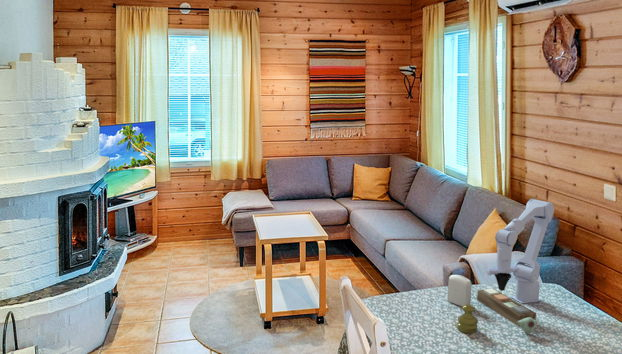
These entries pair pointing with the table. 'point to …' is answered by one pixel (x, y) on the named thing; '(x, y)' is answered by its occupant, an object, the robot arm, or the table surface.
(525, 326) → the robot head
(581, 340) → the table surface
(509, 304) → the sage key
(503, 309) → the keyboard
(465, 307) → the olive green vase
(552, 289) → the table surface
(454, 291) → the white rounded slab
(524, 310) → the slate key
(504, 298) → the terracotta key
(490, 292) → the ivory key
